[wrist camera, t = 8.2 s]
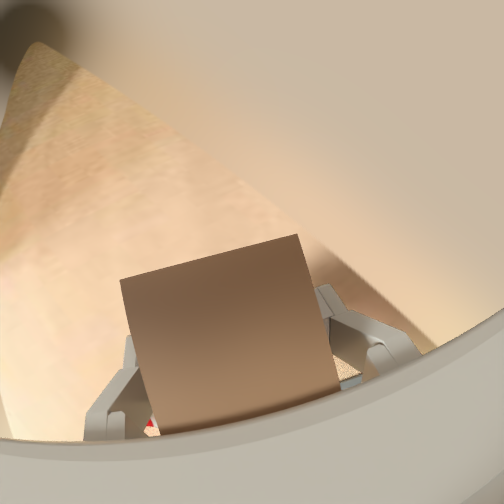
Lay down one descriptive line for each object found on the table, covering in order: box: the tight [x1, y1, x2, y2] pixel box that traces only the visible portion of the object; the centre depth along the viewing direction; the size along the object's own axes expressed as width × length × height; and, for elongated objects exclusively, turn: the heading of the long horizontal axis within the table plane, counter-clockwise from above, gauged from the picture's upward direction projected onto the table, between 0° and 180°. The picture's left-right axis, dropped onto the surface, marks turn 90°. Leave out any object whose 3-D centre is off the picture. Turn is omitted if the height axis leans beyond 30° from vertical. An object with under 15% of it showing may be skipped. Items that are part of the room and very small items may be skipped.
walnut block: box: [120, 234, 342, 435], centre depth 12 cm, size 4×4×10 cm
